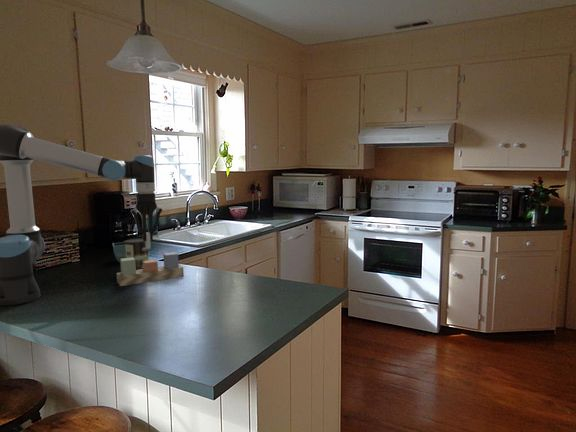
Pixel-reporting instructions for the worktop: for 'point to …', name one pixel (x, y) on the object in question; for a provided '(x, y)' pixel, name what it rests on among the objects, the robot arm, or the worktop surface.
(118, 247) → the flower pot
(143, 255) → the coffee can
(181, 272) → the socket rail
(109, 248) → the worktop surface
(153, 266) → the terracotta block
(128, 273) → the sage block
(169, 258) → the slate block
